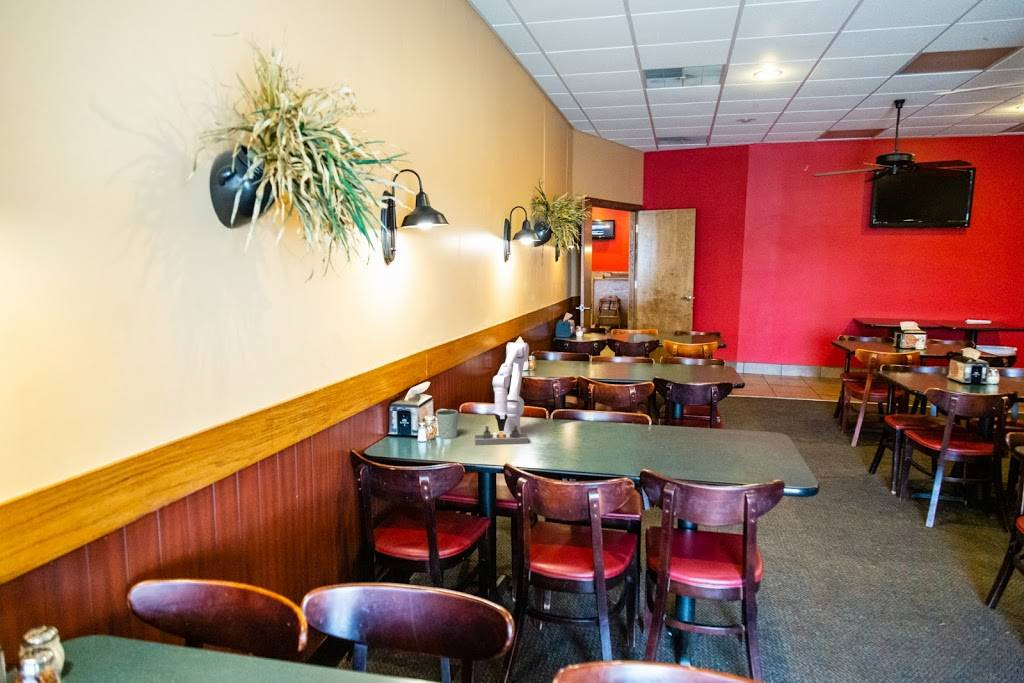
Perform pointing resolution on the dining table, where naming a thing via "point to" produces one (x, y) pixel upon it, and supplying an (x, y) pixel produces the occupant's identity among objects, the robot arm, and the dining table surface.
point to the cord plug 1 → (487, 432)
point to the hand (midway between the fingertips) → (501, 430)
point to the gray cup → (447, 423)
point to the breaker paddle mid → (501, 434)
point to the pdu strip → (501, 440)
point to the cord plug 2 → (515, 432)
